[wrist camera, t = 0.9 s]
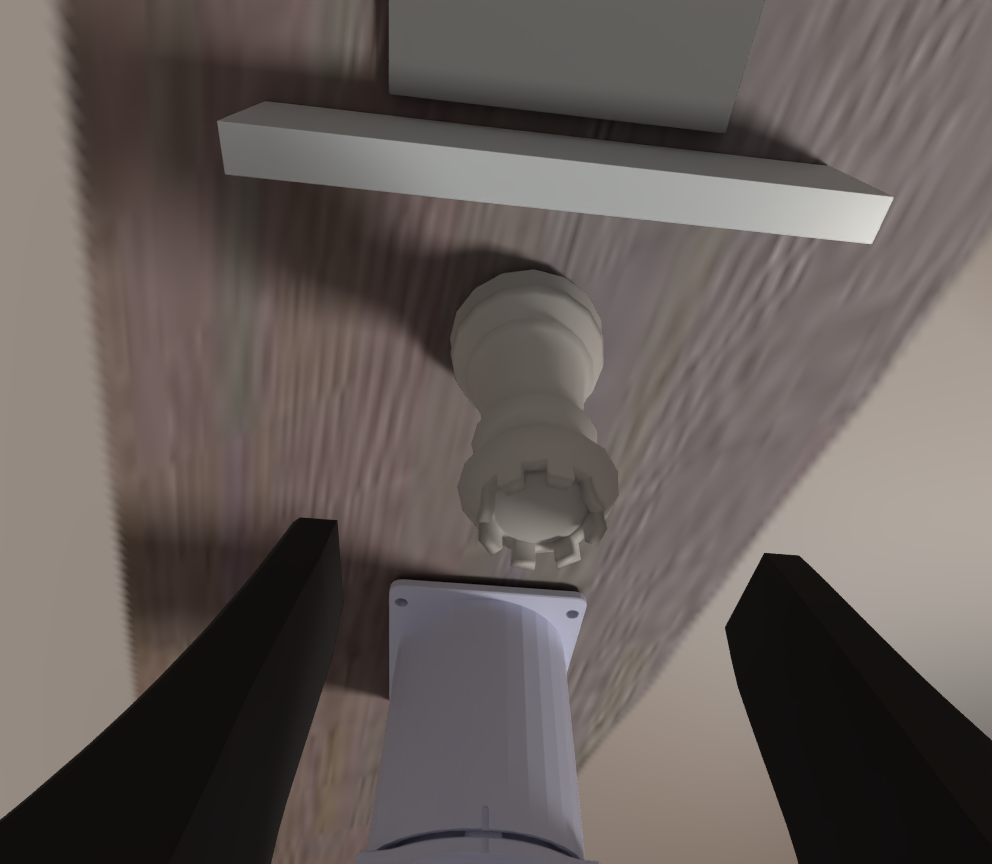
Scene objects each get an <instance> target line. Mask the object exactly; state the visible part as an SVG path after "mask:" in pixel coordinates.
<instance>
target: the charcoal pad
mask: <svg viewBox="0 0 992 864" xmlns="http://www.w3.org/2000/svg"><path fill="white" fill-rule="evenodd" d="M764 1H765V0H389V94H393V95H401V96H410V97H418V98H427V99H435V100H444V101H452V102H461V103H470V104H478V105H487V106H495V107H504V108H512V109H521V110H529V111H538V112H546V113H555V114H563V115H572V116H580V117H589V118H598V119H606V120H615V121H623V122H632V123H640V124H649V125H657V126H666V127H674V128H683V129H691V130H700V131H709V132H717V133H726V130H727V126H728V123H729V120H730V116H731V113H732V109H733V106H734V103H735V99H736V96H737V93H738V89H739V86H740V82H741V79H742V76H743V72H744V69H745V66H746V62H747V59H748V55H749V52H750V49H751V45H752V42H753V39H754V35H755V32H756V28H757V25H758V22H759V18H760V15H761V12H762V8H763V5H764Z"/></svg>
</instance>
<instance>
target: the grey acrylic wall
mask: <svg viewBox="0 0 992 864" xmlns="http://www.w3.org/2000/svg"><path fill="white" fill-rule="evenodd" d="M217 124H218V131H219V137H220V144H221V151H222V157H223V164H224V170H225V174H227V175H236V176H245V177H255V178H264V179H273V180H282V181H292V182H301V183H310V184H319V185H329V186H338V187H347V188H357V189H366V190H375V191H384V192H394V193H403V194H412V195H421V196H431V197H440V198H449V199H458V200H468V201H477V202H486V203H496V204H505V205H514V206H523V207H533V208H542V209H551V210H560V211H570V212H579V213H588V214H598V215H607V216H616V217H625V218H635V219H644V220H653V221H662V222H672V223H681V224H690V225H700V226H709V227H718V228H727V229H737V230H746V231H755V232H764V233H774V234H783V235H792V236H802V237H811V238H820V239H829V240H839V241H848V242H857V243H866V244H872V243H873V241H874V238H875V236H876V234H877V232H878V230H879V228H880V226H881V224H882V221H883V219H884V217H885V215H886V213H887V211H888V209H889V207H890V205H891V202H892V200H893V198H894V197H893V196H891V195H889V194H886V193H884V192H882V191H880V190H878V189H876V188H874V187H872V186H870V185H868V184H866V183H864V182H862V181H860V180H858V179H855V178H853V177H851V176H849V175H847V174H845V173H843V172H841V171H839V170H837V169H835V168H833V167H831V166H825V165H816V164H808V163H799V162H790V161H781V160H773V159H764V158H755V157H747V156H738V155H729V154H721V153H712V152H703V151H695V150H686V149H677V148H669V147H660V146H651V145H642V144H634V143H625V142H616V141H608V140H599V139H590V138H582V137H573V136H564V135H556V134H547V133H538V132H530V131H521V130H512V129H504V128H495V127H486V126H477V125H469V124H460V123H451V122H443V121H434V120H425V119H417V118H408V117H399V116H391V115H382V114H373V113H365V112H356V111H347V110H338V109H330V108H321V107H312V106H304V105H295V104H286V103H278V102H269V101H264V102H262V103H259V104H257V105H254V106H252V107H250V108H247V109H245V110H242V111H240V112H237V113H235V114H232V115H230V116H227V117H225V118H223V119H220V120H218V121H217Z"/></svg>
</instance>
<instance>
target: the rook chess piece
mask: <svg viewBox="0 0 992 864" xmlns="http://www.w3.org/2000/svg"><path fill="white" fill-rule="evenodd" d="M450 342H451V347H452V349H451V353H450V354H451V359H452V364H453V369H454V374H455V379H456V381H457V383H458V385H459V387H460V388H461V390H462V391H463V392H464V394H465V395H466V397H467V398H468V399H469V401H470V402H471V404H472V405H473V406H474V407H476V408H477V409H478V410H479V412H480V413H481V418H482V419H481V421H480V422H479V423H478V424H477V427H476V430H475V434H474V437H473V440H472V449H473V455H472V456H471V457H470V458H469V459H468V460H467V461H466V463H465V464H464V467H463V471H462V474H461V477H460V481H459V484H458V492H459V496H460V501H461V505H462V510H463V511H464V513H465V514H466V515H467V516H468V517H469V519H470V520H471V521H472V522H473V523H474V525H475V526H476V527H477V528H478V530H479V541H480V542H481V544H482V545H483V546H484V547H485V548H486V550H487V551H488V552H489V553H490V554H491V555H493V554H495V553H496V552H498V551H499V550H501V549H502V545H504V546H506V547H508V548H510V549H511V566H514V567H520V568H525V569H531V570H534V569H535V562H536V556H535V553H542V552H554V556H555V561H556V563H557V565H558V568H560V567H563V566H566V565H568V564H571V563H573V562H576V561H579V560H581V558H580V551H579V544H578V543H579V542H580V541H581V540H582V539H584V538H585V542H588V543H591V544H594V545H596V546H598V545H599V543H600V541H601V539H602V537H603V535H604V533H605V531H606V529H607V527H606V522H605V519H606V518H607V517H608V515H609V513H610V511H611V509H612V507H613V505H614V503H615V501H616V499H617V497H618V471H617V469H616V467H615V466H614V464H613V462H612V461H611V459H610V457H609V455H608V454H607V452H606V450H605V449H604V448H602V447H601V446H599V445H598V444H597V430H596V429H595V427H594V425H593V423H592V422H591V420H590V418H589V417H588V415H587V413H586V412H585V411H584V403H585V401H586V399H587V397H588V396H589V395H590V394H591V393H592V392H593V389H594V387H595V384H596V382H597V380H598V377H599V375H600V373H601V370H602V367H603V364H604V349H603V334H602V332H601V320H600V318H599V316H598V314H597V312H596V310H595V308H594V306H593V304H592V302H591V300H590V298H589V296H588V295H586V294H585V293H584V292H583V291H581V290H580V289H579V288H577V287H576V286H575V285H574V284H572V283H571V282H570V281H569V280H567V279H566V278H565V277H561V276H557V275H553V274H550V273H546V272H542V271H538V270H534V269H533V270H525V271H517V272H510V273H502V274H500V275H498V276H497V277H495V278H493V279H491V280H489V281H488V282H486V283H484V284H482V285H480V286H479V287H477V288H475V289H474V290H473V292H472V293H471V294H470V295H469V297H468V298H467V299H466V301H465V302H464V303H463V304H462V306H461V307H460V308H459V309H458V311H457V312H456V316H455V320H454V324H453V328H452V333H451V337H450Z"/></svg>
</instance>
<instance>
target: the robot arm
mask: <svg viewBox="0 0 992 864" xmlns="http://www.w3.org/2000/svg"><path fill="white" fill-rule="evenodd" d="M401 598H402V599H401ZM342 605H343V591H342V577H341V563H340V549H339V536H338V522H337V520H326V519H313V518H298V519H297V520H296V521H294V522H293V523H292V525H291V526H290V527H289V529H288V530H287V531H286V533H285V534H284V535H283V537H282V538H281V539H280V541H279V542H278V543H277V545H276V546H275V547H274V548H273V550H272V551H271V552H270V554H269V555H268V556H267V557H266V559H265V560H264V561H263V562H262V564H261V565H260V566H259V567H258V569H257V570H256V571H255V572H254V573H253V575H252V576H251V577H250V578H249V579H248V581H247V582H246V583H245V584H244V586H243V587H242V588H241V589H240V590H239V591H238V592H237V594H236V595H235V596H234V597H233V598H232V599H231V601H230V602H229V603H228V604H227V605H226V606H225V607H224V609H223V610H222V611H221V612H220V613H219V614H218V615H217V617H216V618H215V619H214V620H213V621H212V622H211V623H210V625H209V626H208V627H207V628H206V629H205V630H204V631H203V632H202V633H201V634H200V636H199V637H198V638H197V639H196V640H195V641H194V642H193V643H192V644H191V645H190V646H189V647H188V648H187V649H186V650H185V651H184V652H183V653H182V654H181V655H180V656H179V657H178V658H177V660H176V661H175V662H174V663H173V664H172V665H171V666H170V667H169V668H168V669H167V670H166V671H165V672H164V673H163V674H162V675H161V676H160V677H159V678H158V679H157V680H156V681H155V682H154V683H153V684H152V685H151V686H150V687H149V688H148V689H147V690H146V691H145V692H144V693H143V694H142V695H141V696H140V697H139V698H138V699H137V700H136V701H135V702H134V703H133V704H132V705H131V706H130V707H129V708H128V709H127V710H126V711H125V712H123V713H122V714H121V715H120V716H119V717H118V718H117V719H116V720H115V721H114V722H113V723H112V724H111V725H110V726H108V727H107V728H106V729H105V730H104V731H103V732H102V733H101V734H100V735H99V736H98V737H96V738H95V739H94V740H93V741H92V742H91V743H90V744H89V745H88V746H86V747H85V748H84V749H83V750H82V751H81V752H80V753H79V754H77V755H76V756H75V757H74V758H73V759H72V760H70V761H69V763H67V764H66V765H65V766H63V767H62V768H61V769H60V770H59V771H58V772H57V773H55V774H54V775H53V776H52V777H51V778H50V779H48V780H47V781H46V782H45V783H44V784H43V785H41V786H40V787H39V788H38V789H37V790H36V791H35V792H33V793H32V794H31V795H30V796H29V797H27V798H26V799H25V800H24V801H23V802H21V803H20V804H19V805H18V806H17V807H16V808H14V809H13V810H12V811H11V812H9V813H8V814H7V815H6V816H4V817H3V818H2V819H1V820H0V864H271V861H272V857H273V853H274V848H275V844H276V840H277V835H278V831H279V828H280V824H281V820H282V817H283V813H284V810H285V806H286V803H287V799H288V796H289V793H290V790H291V786H292V783H293V780H294V777H295V774H296V771H297V768H298V764H299V761H300V758H301V755H302V752H303V749H304V746H305V742H306V739H307V736H308V733H309V730H310V727H311V724H312V720H313V717H314V714H315V711H316V708H317V705H318V702H319V698H320V695H321V692H322V689H323V686H324V682H325V679H326V676H327V673H328V670H329V666H330V663H331V659H332V655H333V650H334V645H335V640H336V636H337V631H338V625H339V620H340V615H341V610H342ZM586 607H587V603H586V597H585V596H584V595H583V594H582V593H580V592H575V591H561V590H547V589H533V588H519V587H505V586H491V585H477V584H463V583H449V582H435V581H421V580H406V579H399V580H396V581H394V582H392V583H391V586H390V591H389V709H388V715H387V721H386V728H385V734H384V741H383V747H382V753H381V760H380V766H379V772H378V779H377V785H376V792H375V798H374V804H373V811H372V817H371V823H370V830H369V836H368V843H367V849H366V851H359V852H358V853H357V859H356V864H600V863H599V862H598V861H589V860H585V854H584V844H583V833H582V824H581V813H580V804H579V794H578V784H577V774H576V764H575V754H574V744H573V735H572V725H571V715H570V705H569V695H568V685H567V675H566V674H567V670H568V667H569V664H570V660H571V657H572V654H573V650H574V647H575V644H576V640H577V637H578V633H579V630H580V627H581V623H582V620H583V617H584V613H585V610H586ZM725 630H726V635H727V640H728V645H729V650H730V655H731V659H732V664H733V668H734V673H735V676H736V681H737V685H738V689H739V692H740V695H741V697H742V700H743V703H744V706H745V709H746V712H747V715H748V718H749V721H750V724H751V726H752V729H753V732H754V735H755V738H756V741H757V743H758V746H759V749H760V752H761V755H762V757H763V760H764V763H765V765H766V768H767V771H768V774H769V777H770V780H771V782H772V785H773V788H774V791H775V794H776V797H777V799H778V802H779V805H780V808H781V810H782V813H783V816H784V819H785V822H786V824H787V828H788V831H789V834H790V837H791V840H792V844H793V847H794V850H795V853H796V856H797V860H798V864H992V740H991V739H990V738H989V737H987V736H986V735H985V734H984V733H983V732H982V731H981V730H980V729H979V728H977V727H976V726H975V725H974V724H973V723H972V722H971V721H970V720H969V719H967V718H966V717H965V716H964V715H963V714H962V713H961V712H960V711H959V710H957V709H956V708H955V707H954V706H953V705H952V704H951V703H950V702H949V701H948V700H946V699H945V698H944V697H943V696H942V695H941V694H940V693H939V692H938V691H937V690H936V689H935V688H934V687H933V686H931V685H930V684H929V683H928V682H927V681H926V680H925V679H924V678H923V677H922V676H921V675H920V674H919V673H918V672H917V671H916V670H915V669H914V668H913V667H912V666H911V665H910V664H909V663H907V662H906V661H905V660H904V659H903V658H902V657H901V656H900V655H899V654H898V653H897V652H896V651H895V650H894V649H893V648H892V647H891V646H890V645H889V644H888V643H887V642H886V641H885V640H884V639H883V638H882V637H881V636H880V635H879V634H878V633H877V632H876V631H875V630H874V629H873V628H872V627H871V626H870V625H869V624H868V623H867V622H866V621H865V620H864V619H863V618H862V617H861V616H860V615H859V614H858V613H857V612H856V611H855V610H854V609H853V608H852V607H851V606H850V605H849V604H848V603H847V602H846V601H845V600H844V599H843V598H842V597H841V596H840V595H839V594H838V593H837V592H836V591H835V590H834V589H833V588H832V587H831V586H830V585H829V584H828V583H827V582H826V581H825V580H824V579H823V578H822V577H821V576H820V575H819V574H818V573H817V572H816V571H815V570H814V569H813V568H812V567H811V566H810V565H809V564H807V563H806V562H805V561H804V560H803V559H802V558H801V557H800V556H798V555H783V554H771V553H764V555H763V557H762V558H761V560H760V562H759V564H758V566H757V568H756V570H755V572H754V574H753V575H752V577H751V579H750V581H749V583H748V585H747V587H746V589H745V591H744V593H743V594H742V596H741V598H740V600H739V602H738V604H737V606H736V608H735V610H734V611H733V613H732V615H731V617H730V619H729V621H728V623H727V625H726V626H725Z"/></svg>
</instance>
